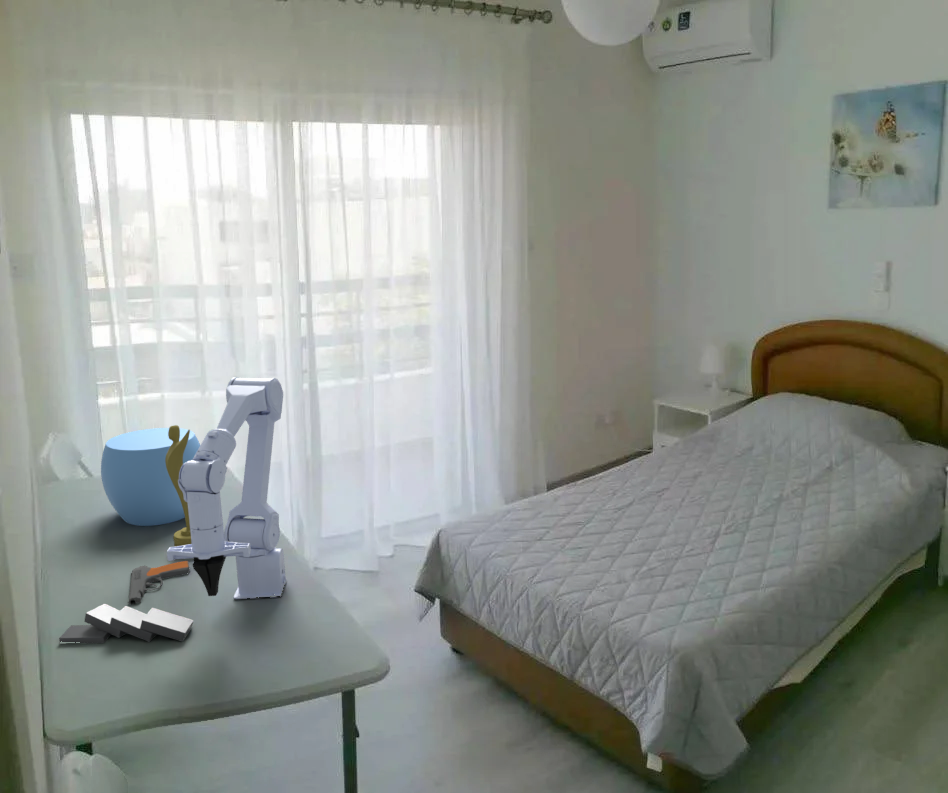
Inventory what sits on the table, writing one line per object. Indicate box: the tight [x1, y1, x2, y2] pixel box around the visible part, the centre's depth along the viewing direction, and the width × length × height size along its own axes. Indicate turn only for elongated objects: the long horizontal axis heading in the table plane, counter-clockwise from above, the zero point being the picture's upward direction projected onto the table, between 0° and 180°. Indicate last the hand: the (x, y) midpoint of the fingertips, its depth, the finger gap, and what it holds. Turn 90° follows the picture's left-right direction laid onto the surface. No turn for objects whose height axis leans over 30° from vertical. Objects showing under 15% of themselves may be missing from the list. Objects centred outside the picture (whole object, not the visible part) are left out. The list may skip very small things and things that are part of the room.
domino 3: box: [140, 607, 194, 642], centre depth 154 cm, size 2×5×8 cm
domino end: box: [58, 624, 112, 644], centre depth 154 cm, size 2×5×8 cm
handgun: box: [127, 560, 191, 605], centre depth 176 cm, size 2×16×12 cm
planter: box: [100, 427, 201, 527], centre depth 215 cm, size 25×25×20 cm
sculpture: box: [165, 424, 192, 547], centre depth 190 cm, size 11×7×30 cm, turn 42°
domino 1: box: [84, 603, 128, 639], centre depth 156 cm, size 2×5×8 cm
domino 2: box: [109, 605, 158, 643], centre depth 154 cm, size 2×5×8 cm
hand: (213, 593), depth 154 cm, fingers closed
